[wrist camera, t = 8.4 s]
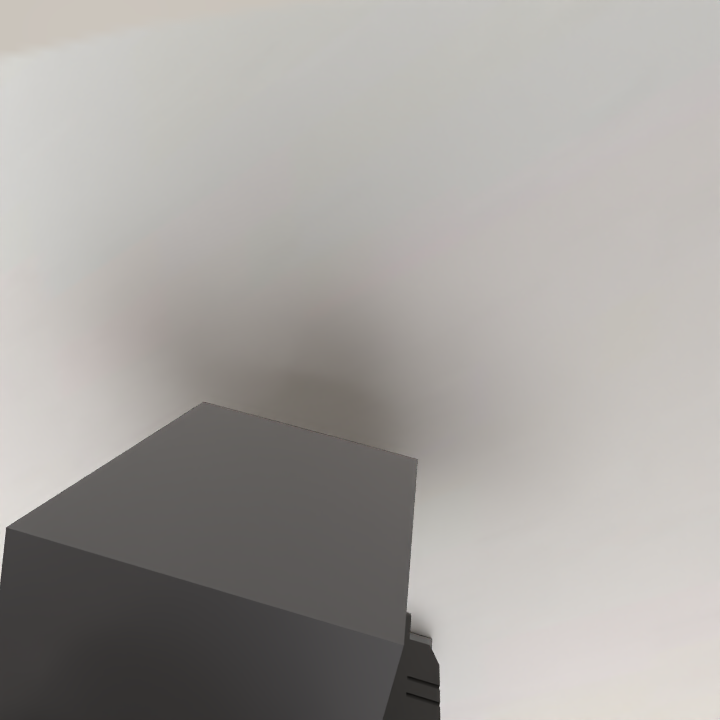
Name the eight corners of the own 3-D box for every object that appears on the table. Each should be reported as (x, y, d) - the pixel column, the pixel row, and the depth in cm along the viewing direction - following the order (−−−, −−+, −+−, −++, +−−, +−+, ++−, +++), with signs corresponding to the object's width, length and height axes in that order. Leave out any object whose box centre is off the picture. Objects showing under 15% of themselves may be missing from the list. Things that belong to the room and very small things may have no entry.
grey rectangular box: (203, 401, 13) (6, 526, 7) (417, 459, 12) (404, 645, 6) (151, 692, 14) (-43, 994, 8) (338, 751, 14) (270, 1111, 8)
